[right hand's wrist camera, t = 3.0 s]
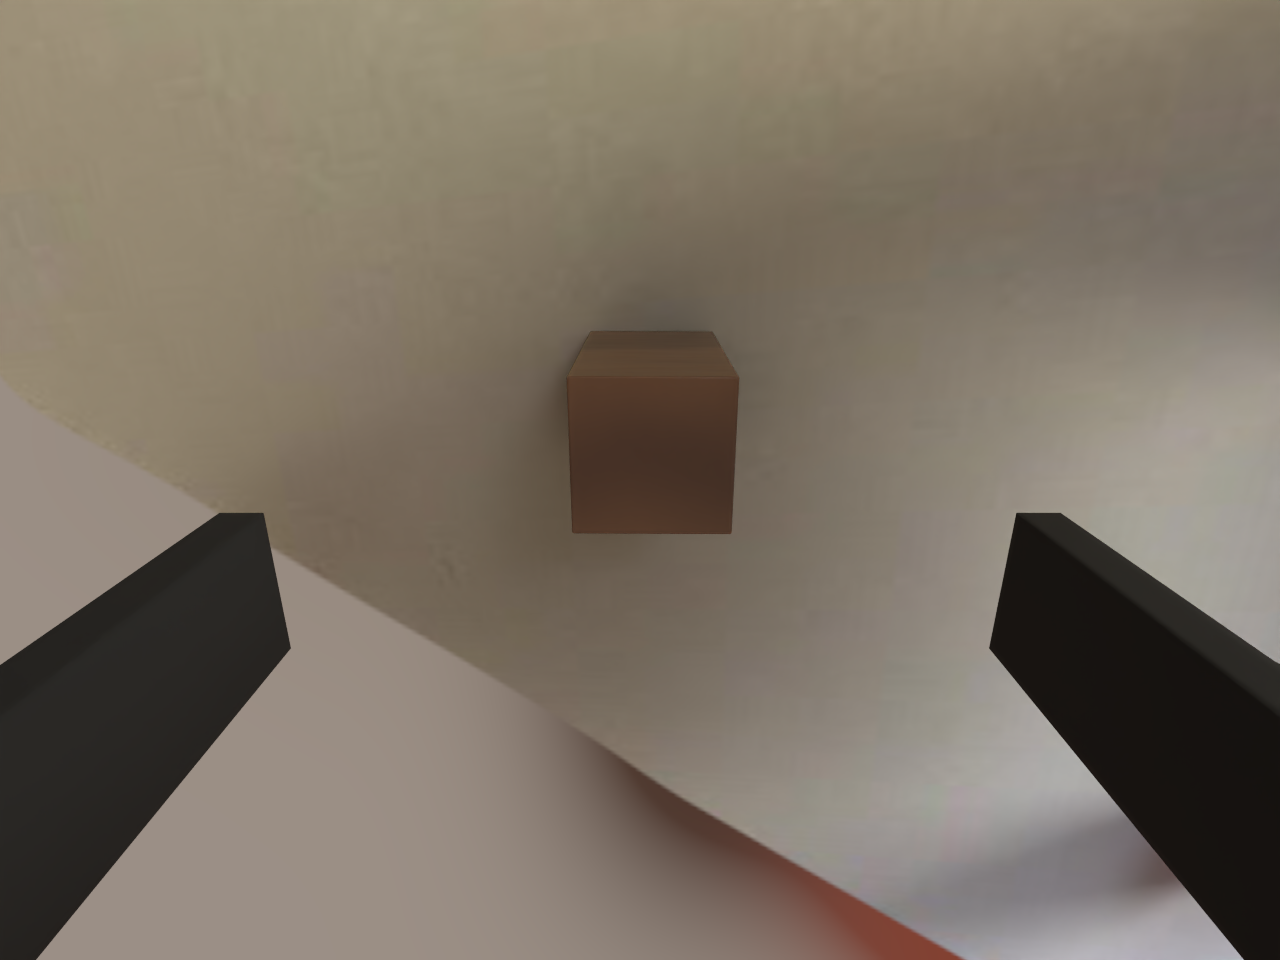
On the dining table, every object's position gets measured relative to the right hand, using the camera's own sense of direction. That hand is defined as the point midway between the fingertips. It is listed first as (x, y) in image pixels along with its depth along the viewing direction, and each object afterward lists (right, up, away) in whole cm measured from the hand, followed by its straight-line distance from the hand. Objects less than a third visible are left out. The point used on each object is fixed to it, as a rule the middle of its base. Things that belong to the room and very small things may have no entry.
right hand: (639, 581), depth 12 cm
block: (0, +5, +14) cm, 15 cm away
